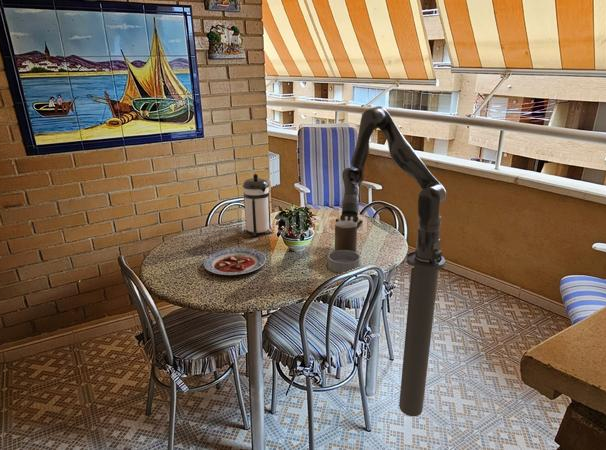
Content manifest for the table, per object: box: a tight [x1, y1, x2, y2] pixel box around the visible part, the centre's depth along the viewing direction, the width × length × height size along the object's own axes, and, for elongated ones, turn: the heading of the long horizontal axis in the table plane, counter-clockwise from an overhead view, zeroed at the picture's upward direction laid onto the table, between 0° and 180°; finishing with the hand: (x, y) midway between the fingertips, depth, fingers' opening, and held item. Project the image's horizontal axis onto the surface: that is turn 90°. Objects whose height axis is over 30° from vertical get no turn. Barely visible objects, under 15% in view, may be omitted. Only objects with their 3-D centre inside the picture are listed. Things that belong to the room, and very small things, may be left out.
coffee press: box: [242, 173, 274, 238], centre depth 203 cm, size 17×16×30 cm
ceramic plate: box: [203, 247, 267, 276], centre depth 170 cm, size 26×26×3 cm
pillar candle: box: [334, 221, 358, 253], centre depth 179 cm, size 10×10×15 cm
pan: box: [327, 250, 362, 274], centre depth 168 cm, size 13×13×4 cm
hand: (347, 239), depth 185 cm, fingers closed
